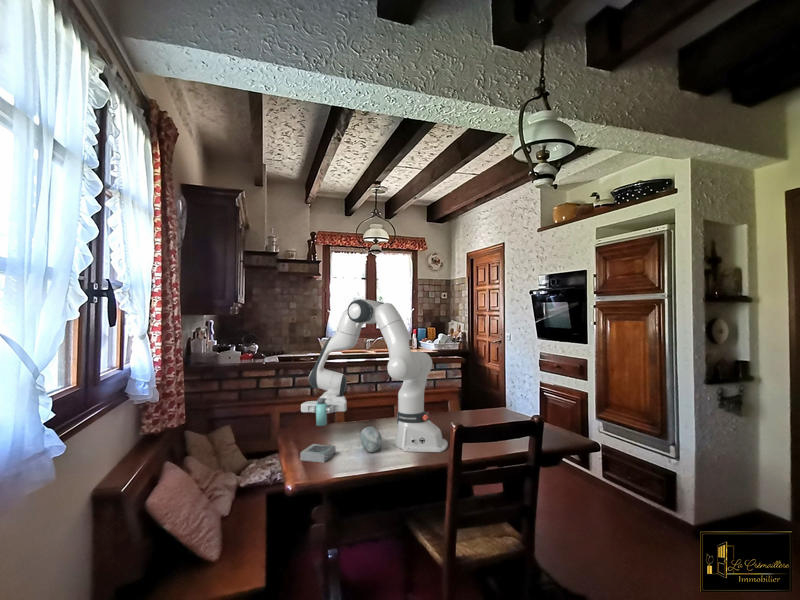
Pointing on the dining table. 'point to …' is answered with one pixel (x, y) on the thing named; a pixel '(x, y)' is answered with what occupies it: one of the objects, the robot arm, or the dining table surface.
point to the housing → (317, 453)
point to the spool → (371, 439)
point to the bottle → (321, 412)
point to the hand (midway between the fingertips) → (320, 410)
